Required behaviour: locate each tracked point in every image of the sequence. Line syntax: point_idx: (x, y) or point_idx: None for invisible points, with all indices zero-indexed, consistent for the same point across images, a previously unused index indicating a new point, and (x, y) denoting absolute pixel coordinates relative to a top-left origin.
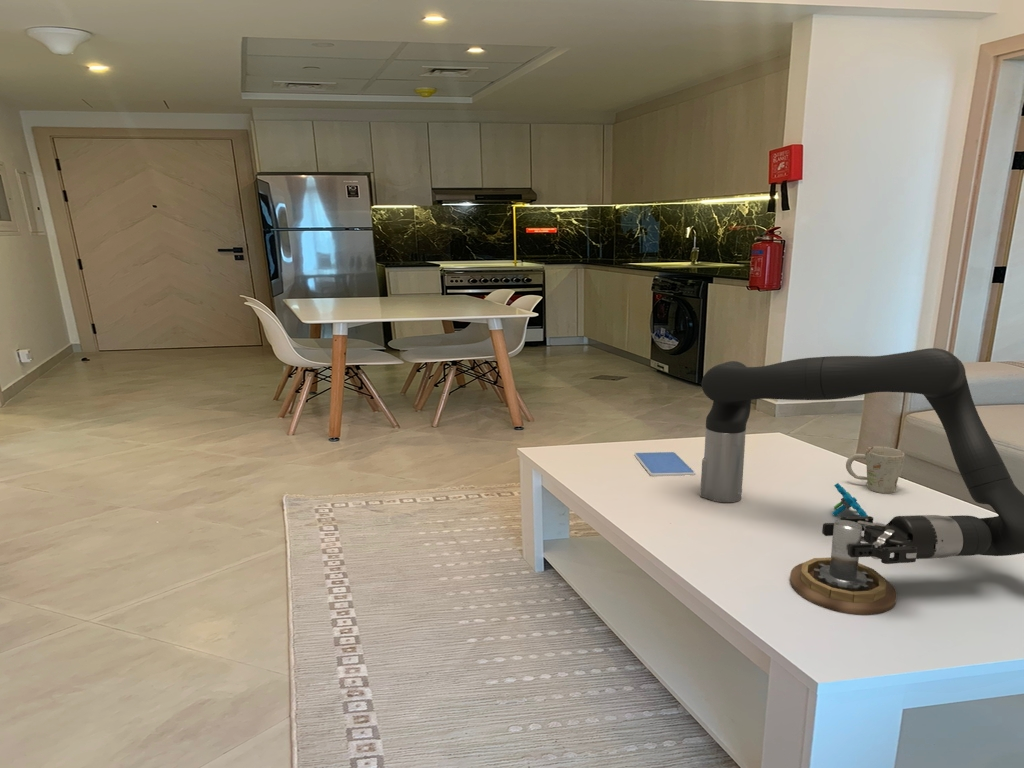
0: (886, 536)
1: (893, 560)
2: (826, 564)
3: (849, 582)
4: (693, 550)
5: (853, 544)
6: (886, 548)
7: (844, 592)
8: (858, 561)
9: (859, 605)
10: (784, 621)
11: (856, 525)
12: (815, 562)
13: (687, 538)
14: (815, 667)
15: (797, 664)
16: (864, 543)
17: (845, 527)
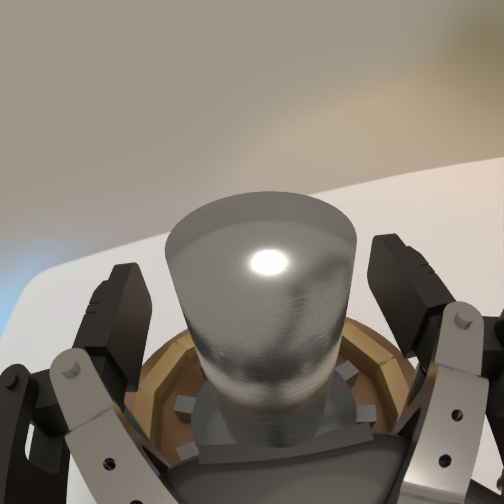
0: (106, 484)
1: (34, 449)
2: (386, 400)
3: (214, 412)
4: (398, 210)
5: (121, 270)
6: (6, 373)
7: (154, 369)
8: (243, 428)
9: (130, 409)
10: (145, 275)
11: (250, 270)
12: (367, 357)
13: (438, 209)
14: (45, 279)
15: (59, 265)
16: (110, 317)
17: (217, 215)
